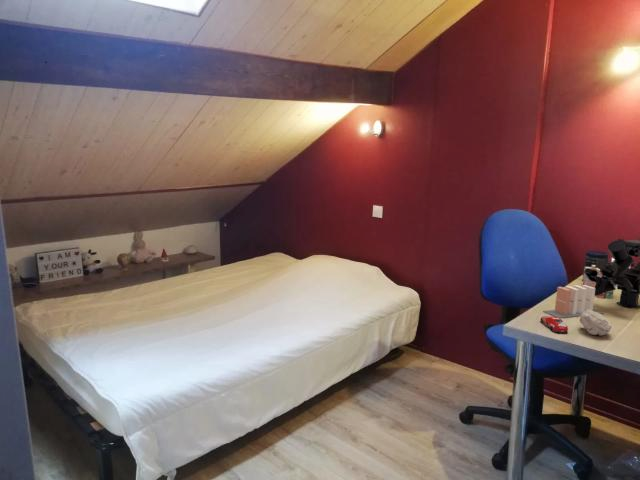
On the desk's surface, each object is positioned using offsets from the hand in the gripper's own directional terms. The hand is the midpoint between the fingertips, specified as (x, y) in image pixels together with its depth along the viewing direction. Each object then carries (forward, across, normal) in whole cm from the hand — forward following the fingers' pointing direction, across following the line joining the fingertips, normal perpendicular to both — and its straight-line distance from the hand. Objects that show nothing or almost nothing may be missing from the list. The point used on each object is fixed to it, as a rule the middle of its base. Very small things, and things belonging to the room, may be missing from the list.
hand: (593, 295), depth 189 cm
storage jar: (-22, -35, +32) cm, 52 cm away
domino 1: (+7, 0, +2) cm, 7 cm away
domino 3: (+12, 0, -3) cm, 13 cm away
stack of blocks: (-13, -22, +23) cm, 34 cm away
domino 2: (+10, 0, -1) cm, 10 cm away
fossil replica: (+19, +19, -8) cm, 28 cm away
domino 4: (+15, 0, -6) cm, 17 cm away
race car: (+26, +11, -15) cm, 32 cm away
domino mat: (+11, 0, -2) cm, 11 cm away
